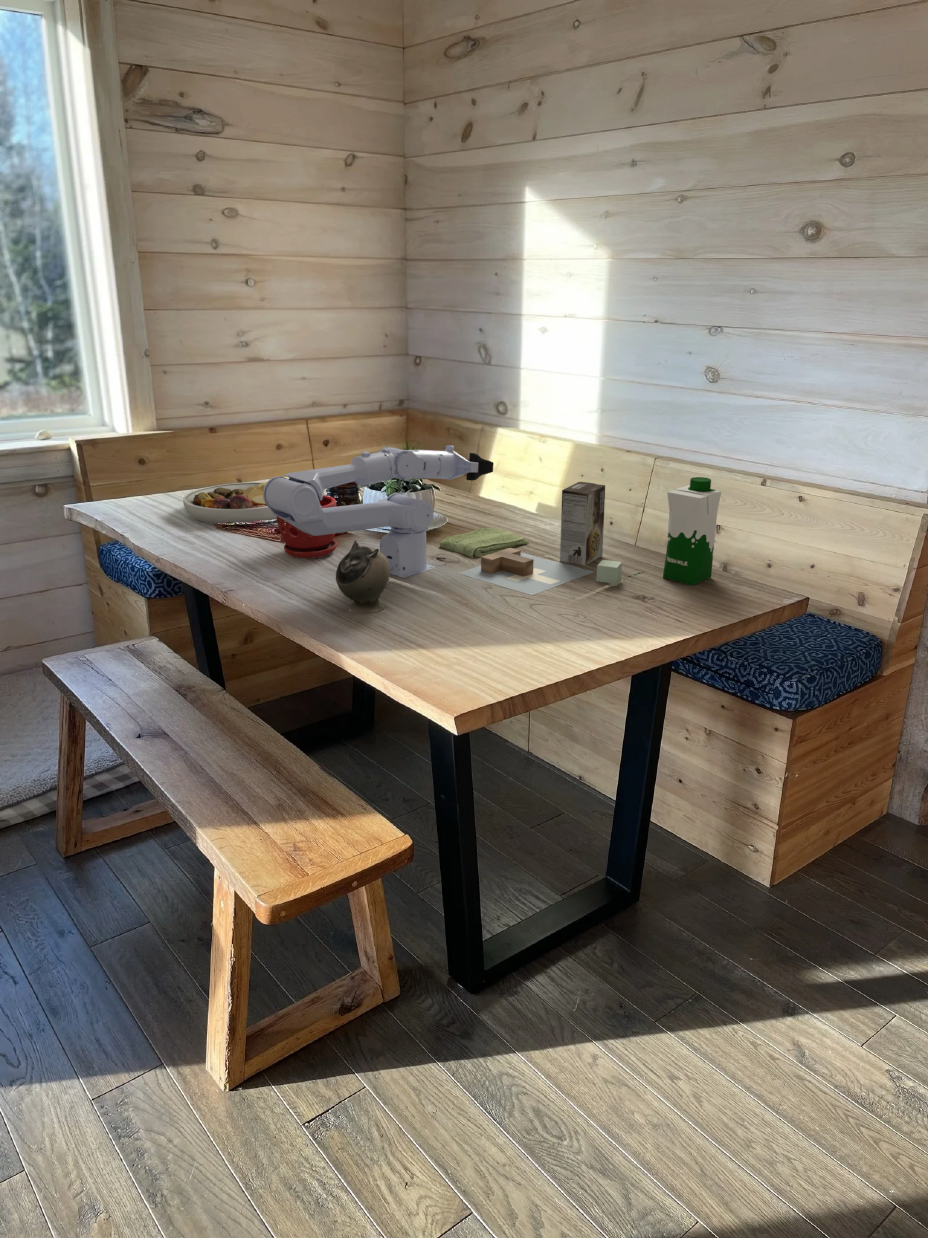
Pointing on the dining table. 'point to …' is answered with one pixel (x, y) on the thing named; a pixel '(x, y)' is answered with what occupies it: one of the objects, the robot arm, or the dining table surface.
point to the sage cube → (609, 572)
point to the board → (531, 576)
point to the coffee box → (582, 523)
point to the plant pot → (307, 537)
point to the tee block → (507, 562)
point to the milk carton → (691, 531)
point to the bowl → (228, 503)
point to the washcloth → (482, 542)
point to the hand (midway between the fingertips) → (479, 465)
